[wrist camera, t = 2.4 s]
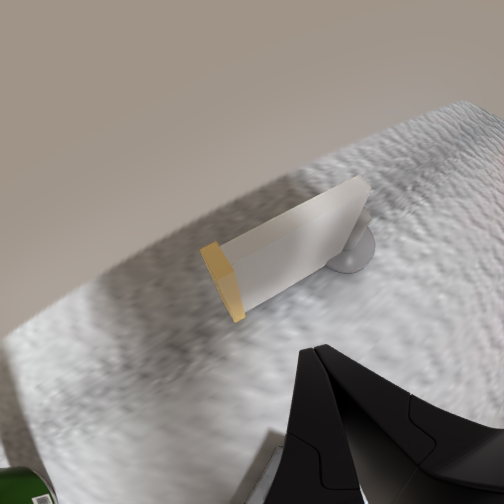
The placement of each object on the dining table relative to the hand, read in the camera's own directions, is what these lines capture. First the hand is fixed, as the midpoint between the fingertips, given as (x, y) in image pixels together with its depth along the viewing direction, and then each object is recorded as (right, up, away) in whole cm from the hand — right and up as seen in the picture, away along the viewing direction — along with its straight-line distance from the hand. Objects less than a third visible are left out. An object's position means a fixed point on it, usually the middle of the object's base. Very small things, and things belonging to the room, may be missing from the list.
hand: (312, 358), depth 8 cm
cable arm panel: (+2, +2, +12) cm, 12 cm away
